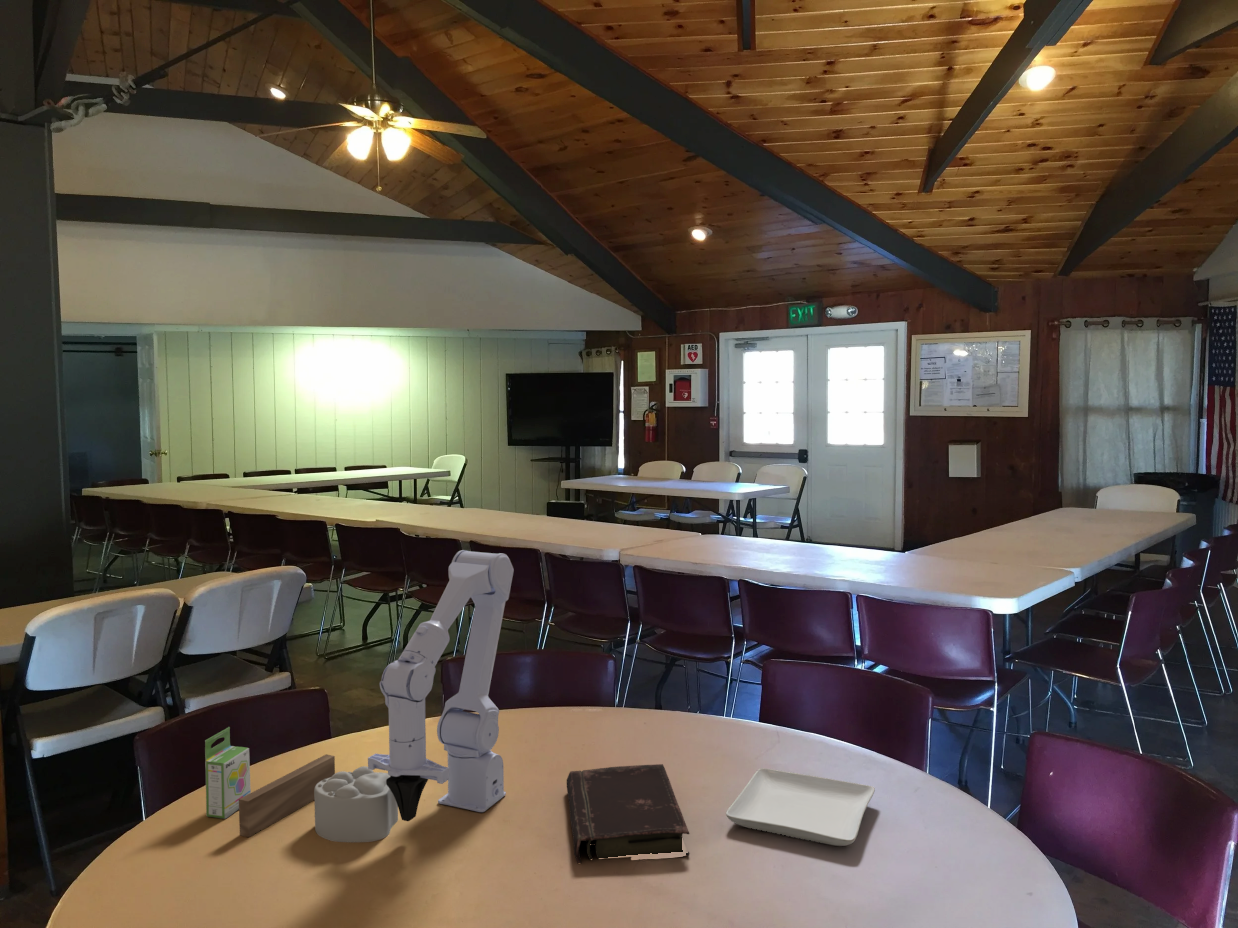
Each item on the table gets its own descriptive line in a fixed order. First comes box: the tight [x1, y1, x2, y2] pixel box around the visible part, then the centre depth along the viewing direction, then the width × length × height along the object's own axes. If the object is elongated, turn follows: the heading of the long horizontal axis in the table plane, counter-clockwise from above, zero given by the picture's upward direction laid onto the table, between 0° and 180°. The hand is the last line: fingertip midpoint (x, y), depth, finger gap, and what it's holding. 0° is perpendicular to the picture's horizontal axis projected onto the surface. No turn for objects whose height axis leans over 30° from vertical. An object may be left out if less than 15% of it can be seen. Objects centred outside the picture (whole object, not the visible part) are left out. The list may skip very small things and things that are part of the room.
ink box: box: [204, 726, 252, 820], centre depth 149 cm, size 7×4×13 cm, turn 168°
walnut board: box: [238, 754, 336, 838], centre depth 148 cm, size 2×20×6 cm, turn 156°
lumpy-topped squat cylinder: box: [313, 765, 399, 843], centre depth 143 cm, size 10×13×9 cm
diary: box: [566, 763, 691, 864], centre depth 144 cm, size 19×25×5 cm
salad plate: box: [725, 768, 876, 847], centre depth 146 cm, size 21×21×3 cm
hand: (408, 817), depth 138 cm, fingers closed
